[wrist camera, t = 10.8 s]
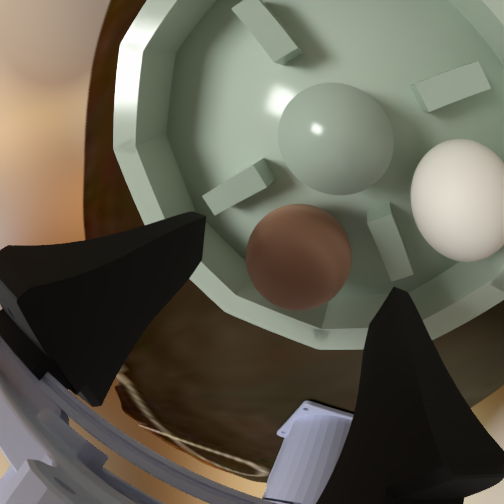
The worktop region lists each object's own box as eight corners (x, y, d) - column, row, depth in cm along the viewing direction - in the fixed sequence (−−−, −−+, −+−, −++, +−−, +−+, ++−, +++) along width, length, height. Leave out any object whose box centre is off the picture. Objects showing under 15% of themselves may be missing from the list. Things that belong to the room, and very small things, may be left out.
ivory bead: (390, 202, 10) (394, 261, 7) (424, 111, 8) (453, 130, 5) (467, 238, 9) (491, 303, 6) (506, 157, 7) (555, 201, 4)
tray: (426, 343, 14) (428, 385, 11) (152, 237, 17) (121, 262, 15) (557, 50, 3) (592, 50, 1) (187, -58, 7) (150, -76, 4)
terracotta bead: (368, 210, 11) (368, 265, 8) (334, 283, 13) (319, 346, 10) (277, 176, 11) (238, 214, 8) (257, 252, 14) (221, 306, 11)
